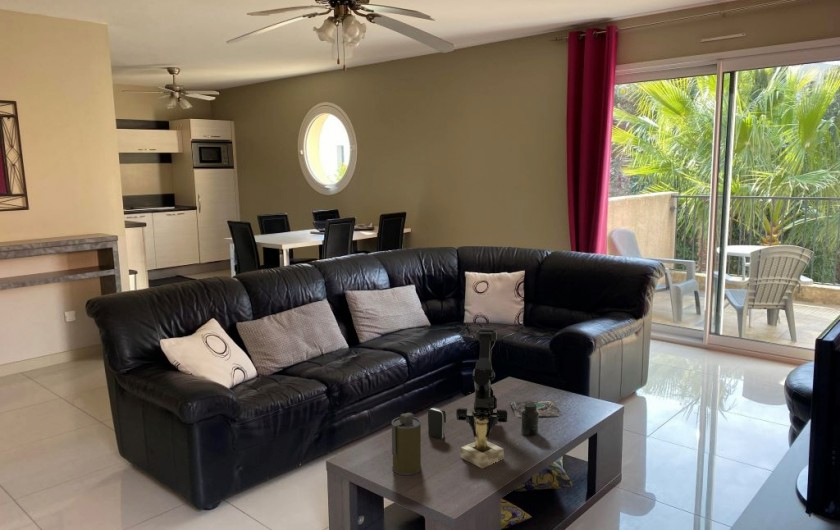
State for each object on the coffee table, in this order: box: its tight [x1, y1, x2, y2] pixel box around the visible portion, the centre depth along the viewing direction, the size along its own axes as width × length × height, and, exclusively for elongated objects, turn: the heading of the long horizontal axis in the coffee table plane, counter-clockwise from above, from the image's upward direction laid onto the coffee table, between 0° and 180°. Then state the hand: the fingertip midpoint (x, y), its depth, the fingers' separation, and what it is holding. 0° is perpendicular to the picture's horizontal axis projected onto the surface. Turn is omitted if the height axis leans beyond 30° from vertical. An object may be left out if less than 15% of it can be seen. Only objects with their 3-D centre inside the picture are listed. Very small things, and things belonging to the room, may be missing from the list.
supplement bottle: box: [520, 403, 540, 437], centre depth 245 cm, size 7×7×12 cm
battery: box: [427, 406, 447, 440], centre depth 243 cm, size 7×4×11 cm, turn 53°
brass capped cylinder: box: [474, 416, 489, 453], centre depth 224 cm, size 5×5×13 cm
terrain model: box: [509, 400, 563, 419], centre depth 269 cm, size 20×15×3 cm
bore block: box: [460, 440, 505, 469], centre depth 225 cm, size 11×11×4 cm
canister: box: [391, 412, 422, 476], centre depth 216 cm, size 11×10×20 cm
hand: (481, 437), depth 222 cm, fingers closed on brass capped cylinder, 4 cm apart
